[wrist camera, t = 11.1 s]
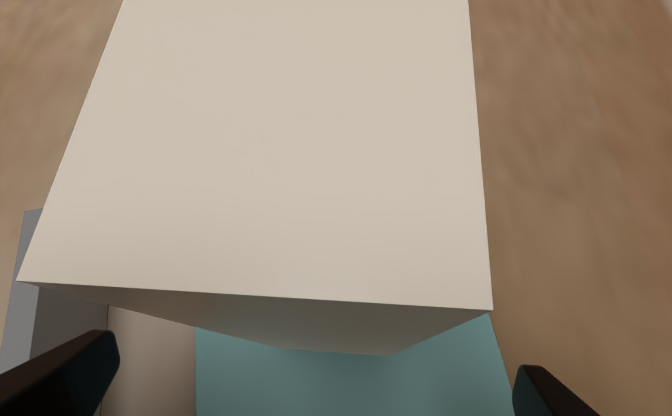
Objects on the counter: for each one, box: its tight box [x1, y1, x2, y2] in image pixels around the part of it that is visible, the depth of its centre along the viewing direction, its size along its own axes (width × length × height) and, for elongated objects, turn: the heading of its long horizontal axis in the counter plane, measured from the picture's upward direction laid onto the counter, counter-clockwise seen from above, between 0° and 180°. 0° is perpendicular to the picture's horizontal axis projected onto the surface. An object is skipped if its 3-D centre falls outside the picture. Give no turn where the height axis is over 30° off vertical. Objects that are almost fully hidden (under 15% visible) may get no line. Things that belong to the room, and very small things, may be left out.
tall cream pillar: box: [16, 0, 493, 356], centre depth 10 cm, size 4×4×13 cm
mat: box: [195, 313, 515, 416], centre depth 16 cm, size 12×12×1 cm
